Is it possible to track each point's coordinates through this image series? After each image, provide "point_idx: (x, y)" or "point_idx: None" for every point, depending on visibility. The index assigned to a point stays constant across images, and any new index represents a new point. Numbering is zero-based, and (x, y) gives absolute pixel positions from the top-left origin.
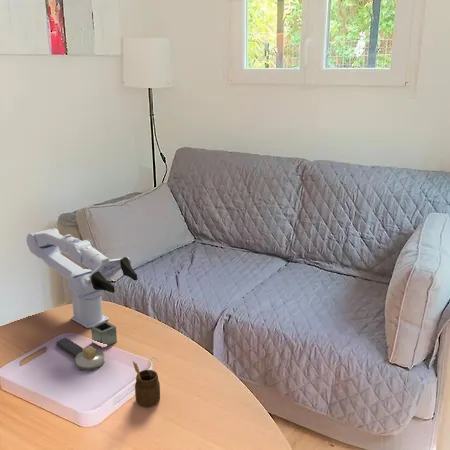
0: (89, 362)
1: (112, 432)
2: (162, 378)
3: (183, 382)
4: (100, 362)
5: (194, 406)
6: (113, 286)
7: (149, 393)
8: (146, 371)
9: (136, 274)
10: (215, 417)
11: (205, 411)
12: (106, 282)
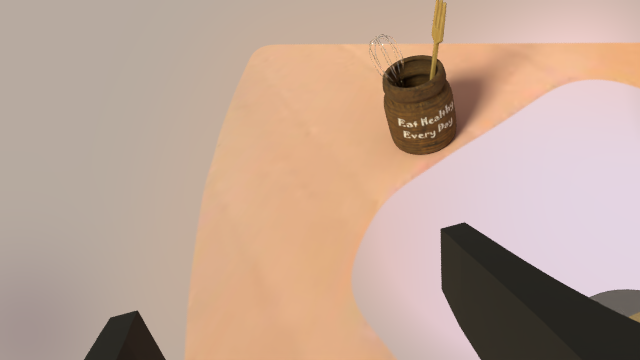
0: (638, 306)
1: (525, 65)
2: (360, 201)
3: (316, 177)
4: None
5: (332, 110)
6: (444, 228)
7: (419, 81)
8: (408, 92)
9: (111, 321)
10: (311, 86)
11: (319, 98)
12: (533, 270)
